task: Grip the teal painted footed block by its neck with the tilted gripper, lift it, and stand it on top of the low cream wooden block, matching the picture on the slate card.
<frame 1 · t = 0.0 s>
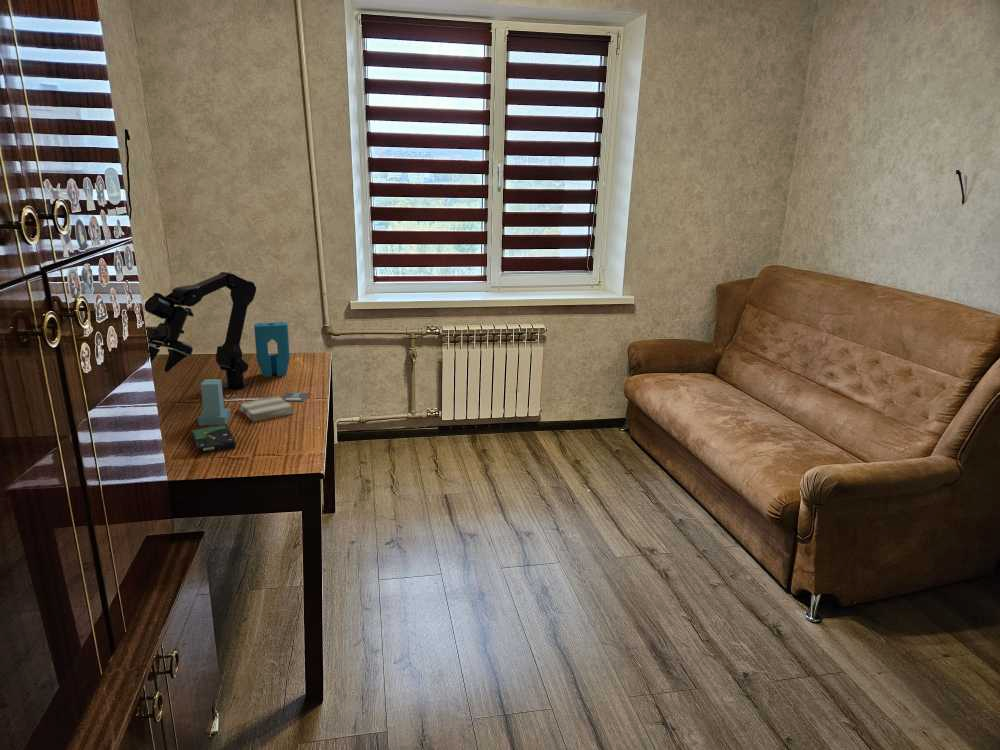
hand: (155, 369, 211), 15 cm above the table, tool tilted 35°, fingers open, 9 cm apart
block: (274, 374, 258), on the table
slate card: (294, 397, 234), on the table
teal block: (214, 420, 212), on the table
cream base block: (266, 413, 220), on the table
disk drive: (213, 444, 196), on the table
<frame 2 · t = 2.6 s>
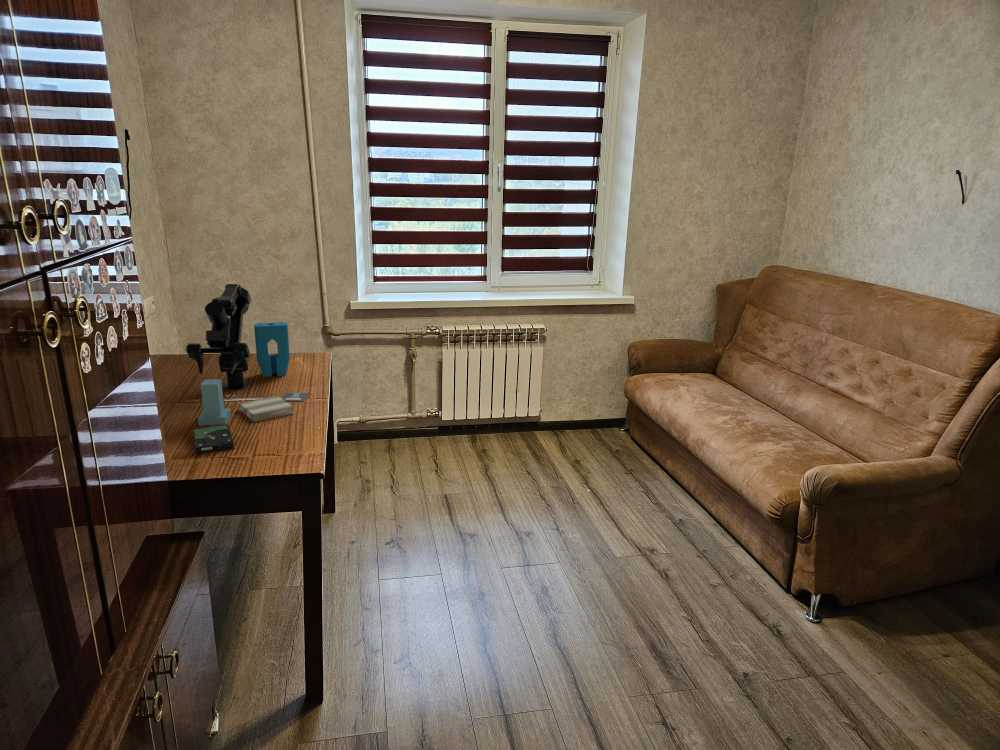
hand: (216, 373, 214), 13 cm above the table, tool tilted 45°, fingers open, 9 cm apart
nothing on the table moved.
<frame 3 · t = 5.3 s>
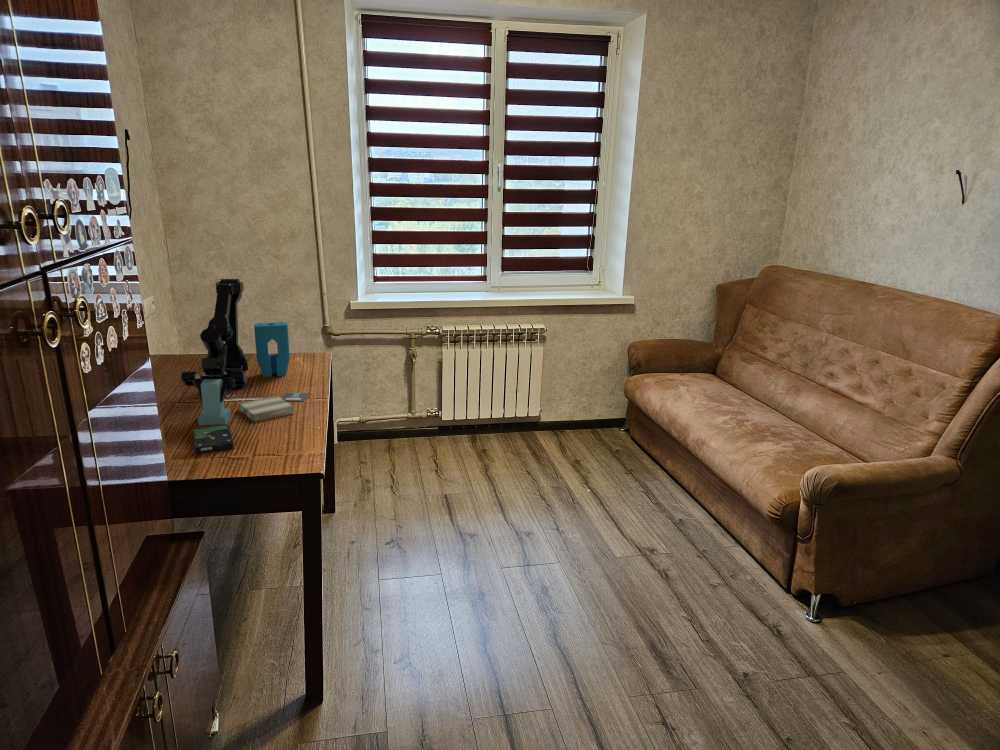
hand: (211, 402, 208), 7 cm above the table, tool tilted 45°, fingers closed on teal block, 5 cm apart
teal block: (214, 420, 212), on the table, touching gripper
everything else where it was.
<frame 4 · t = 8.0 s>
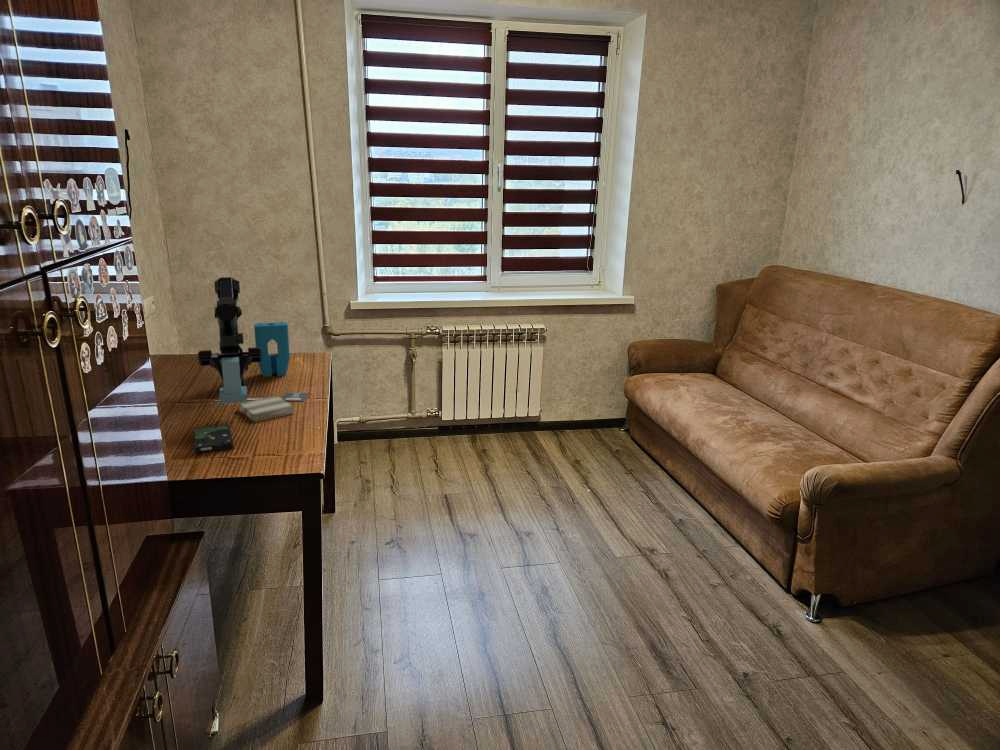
hand: (232, 380, 209), 13 cm above the table, tool tilted 45°, fingers closed on teal block, 5 cm apart
teal block: (233, 398, 212), point 7 cm above the table, touching gripper
everything else where it was.
when the fingers open (10 cm above the table, at t = 11.2 s): teal block drops 1 cm, resting on cream base block.
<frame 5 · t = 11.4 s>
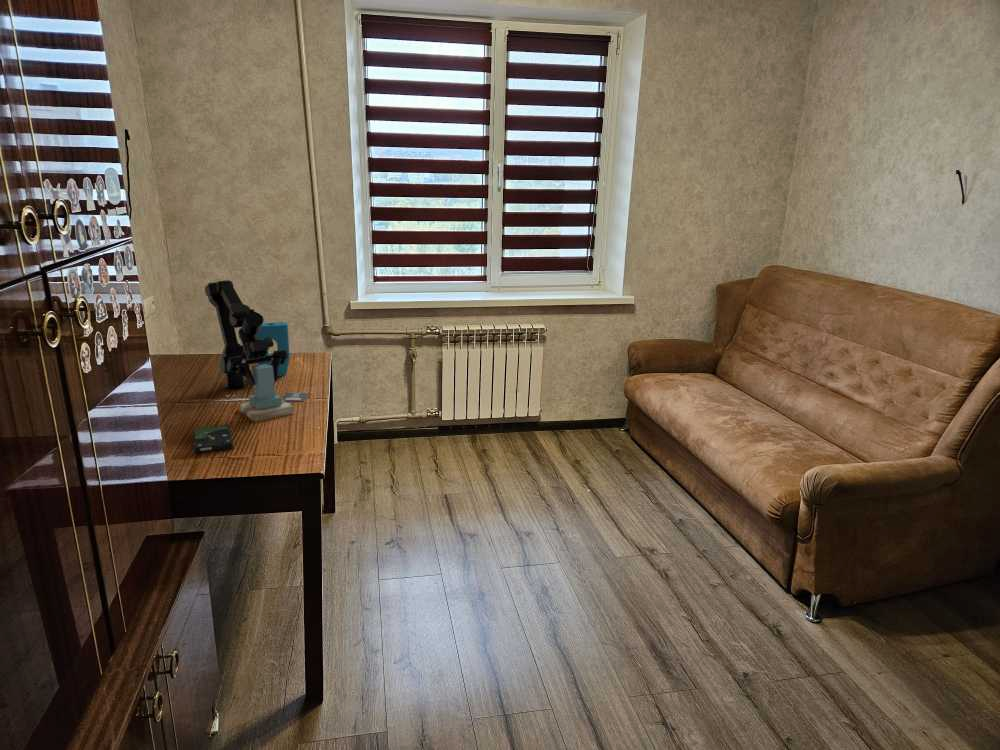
hand: (265, 382, 216), 11 cm above the table, tool tilted 45°, fingers open, 7 cm apart
teal block: (265, 404, 219), point 3 cm above the table, touching cream base block
cream base block: (266, 413, 220), on the table, touching teal block
everything else where it was.
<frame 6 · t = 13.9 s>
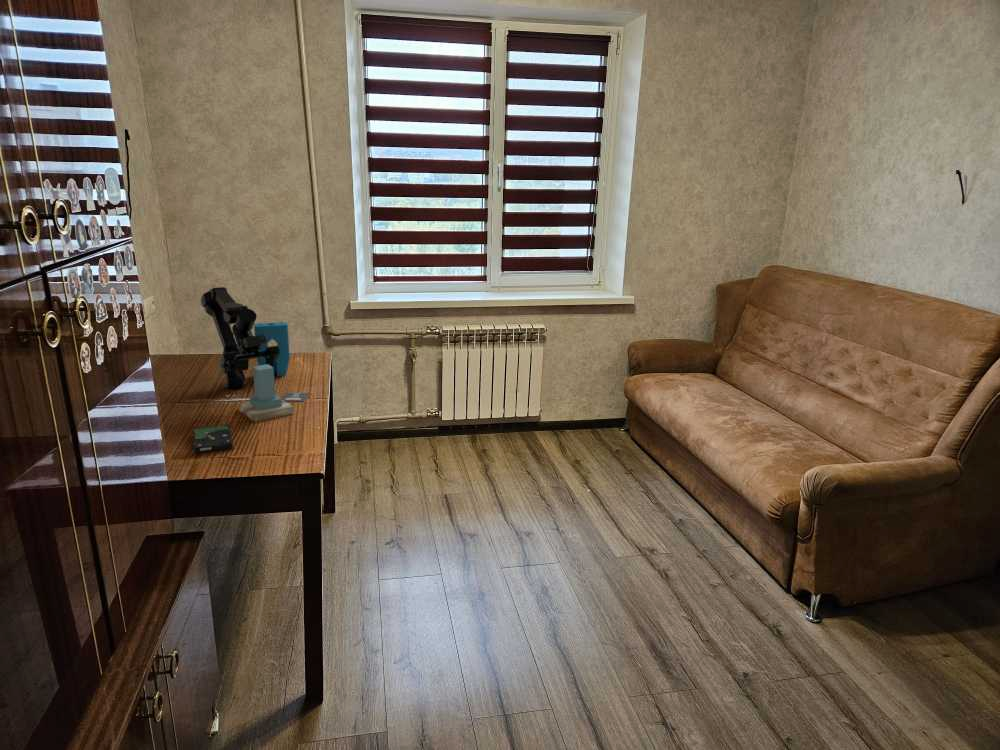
hand: (258, 378, 221), 10 cm above the table, tool tilted 45°, fingers open, 9 cm apart
teal block: (265, 404, 220), point 2 cm above the table
cream base block: (266, 413, 220), on the table
everything else where it was.
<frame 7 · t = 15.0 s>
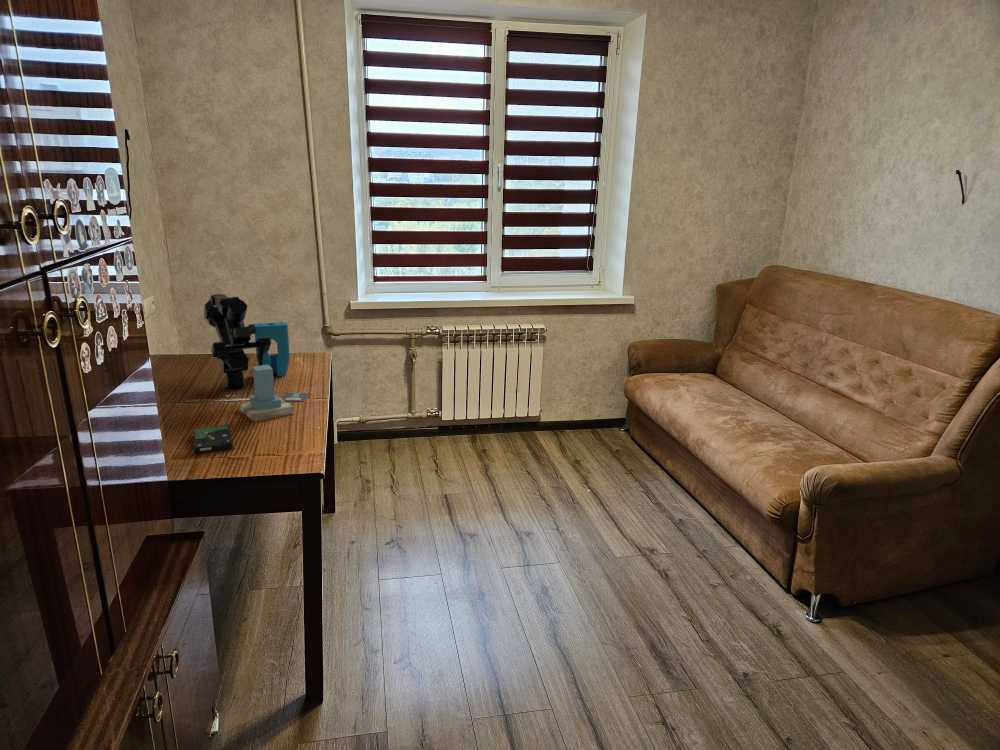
hand: (247, 368, 223), 13 cm above the table, tool tilted 45°, fingers open, 9 cm apart
teal block: (265, 405, 219), point 2 cm above the table, touching cream base block
cream base block: (266, 413, 220), on the table, touching teal block
everything else where it was.
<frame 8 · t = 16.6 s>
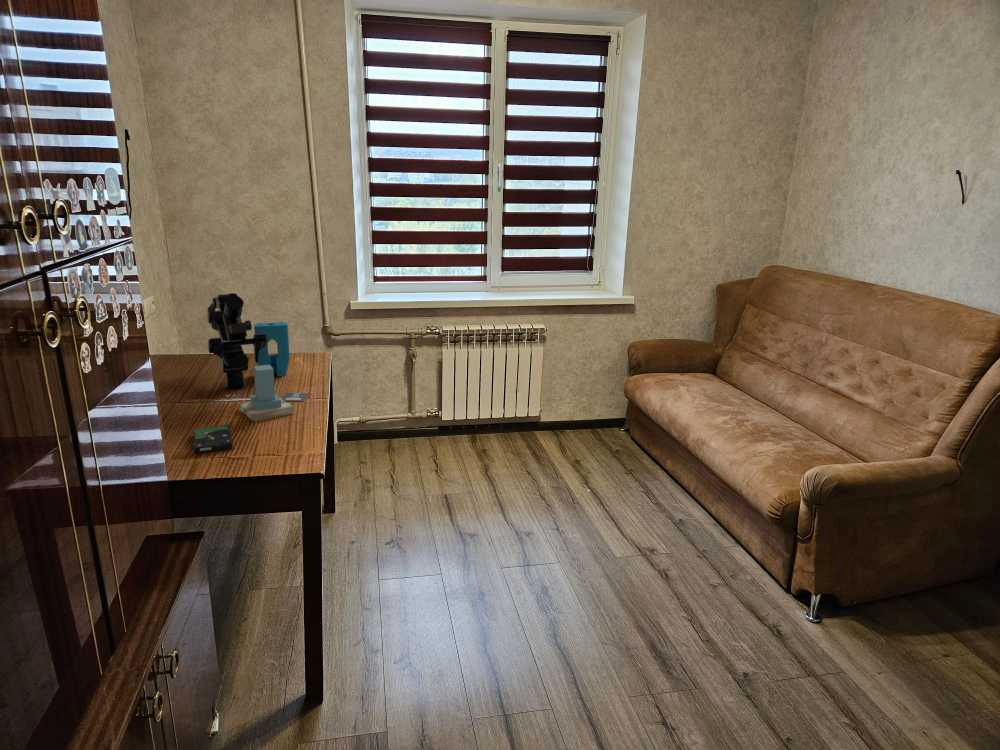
hand: (242, 364, 224), 14 cm above the table, tool tilted 45°, fingers open, 9 cm apart
nothing on the table moved.
at the end: teal block 0.1 cm off-centre on the cream base block, point 3.1 cm above the cream base block's base; teal block tilted 1°; the gripper is holding nothing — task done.
